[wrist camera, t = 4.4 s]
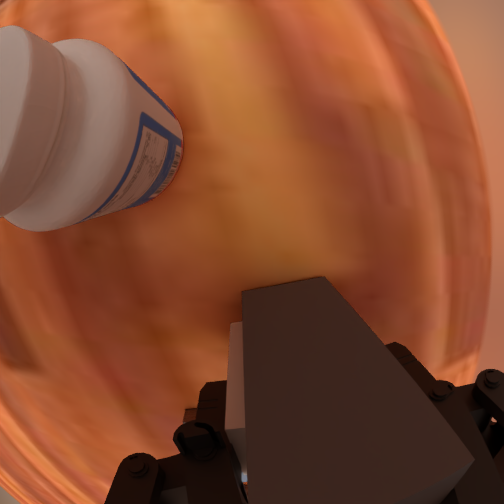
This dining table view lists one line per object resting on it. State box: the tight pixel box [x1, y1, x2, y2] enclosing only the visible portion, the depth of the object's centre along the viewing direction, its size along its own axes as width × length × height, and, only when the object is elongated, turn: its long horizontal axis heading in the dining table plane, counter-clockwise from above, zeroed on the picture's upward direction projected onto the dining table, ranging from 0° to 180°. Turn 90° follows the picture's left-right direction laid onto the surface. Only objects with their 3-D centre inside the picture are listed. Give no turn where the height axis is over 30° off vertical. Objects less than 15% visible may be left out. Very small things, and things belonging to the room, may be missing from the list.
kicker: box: [241, 276, 475, 504], centre depth 9 cm, size 10×9×11 cm
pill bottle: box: [0, 25, 183, 232], centre depth 7 cm, size 6×5×10 cm
